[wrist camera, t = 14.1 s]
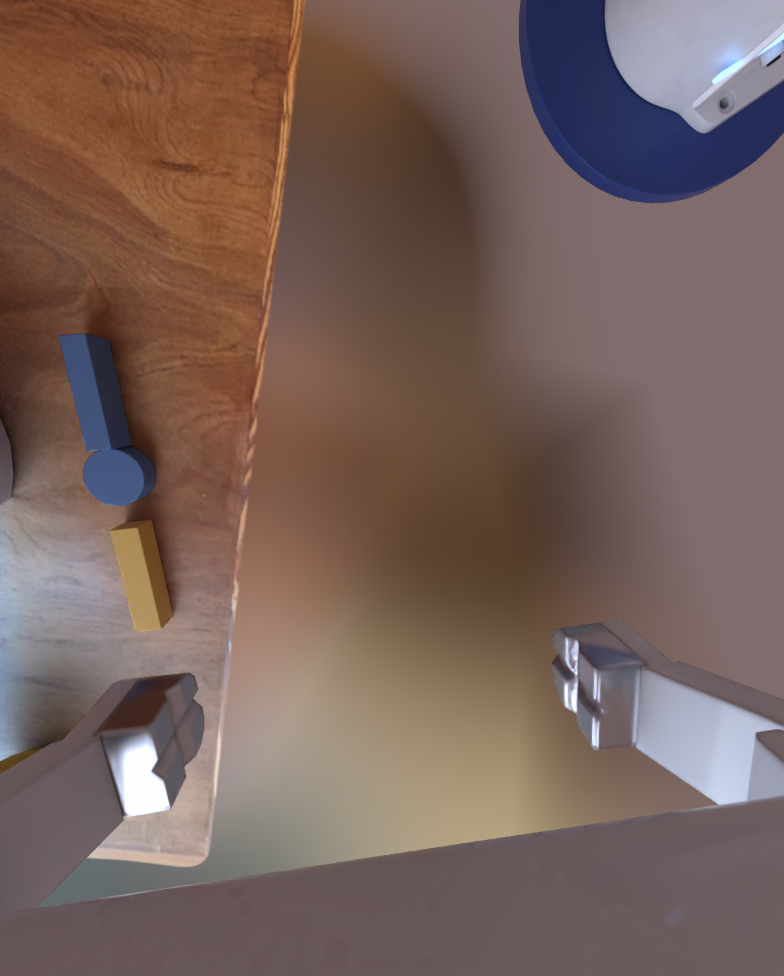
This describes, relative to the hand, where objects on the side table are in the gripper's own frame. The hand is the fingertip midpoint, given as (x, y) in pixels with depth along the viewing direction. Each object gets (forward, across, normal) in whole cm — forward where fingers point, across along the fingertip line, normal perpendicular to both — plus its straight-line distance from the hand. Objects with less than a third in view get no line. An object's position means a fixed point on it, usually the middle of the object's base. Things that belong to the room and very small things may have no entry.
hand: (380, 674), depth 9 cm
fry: (+29, +22, +8) cm, 37 cm away
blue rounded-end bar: (+29, +22, -6) cm, 37 cm away
